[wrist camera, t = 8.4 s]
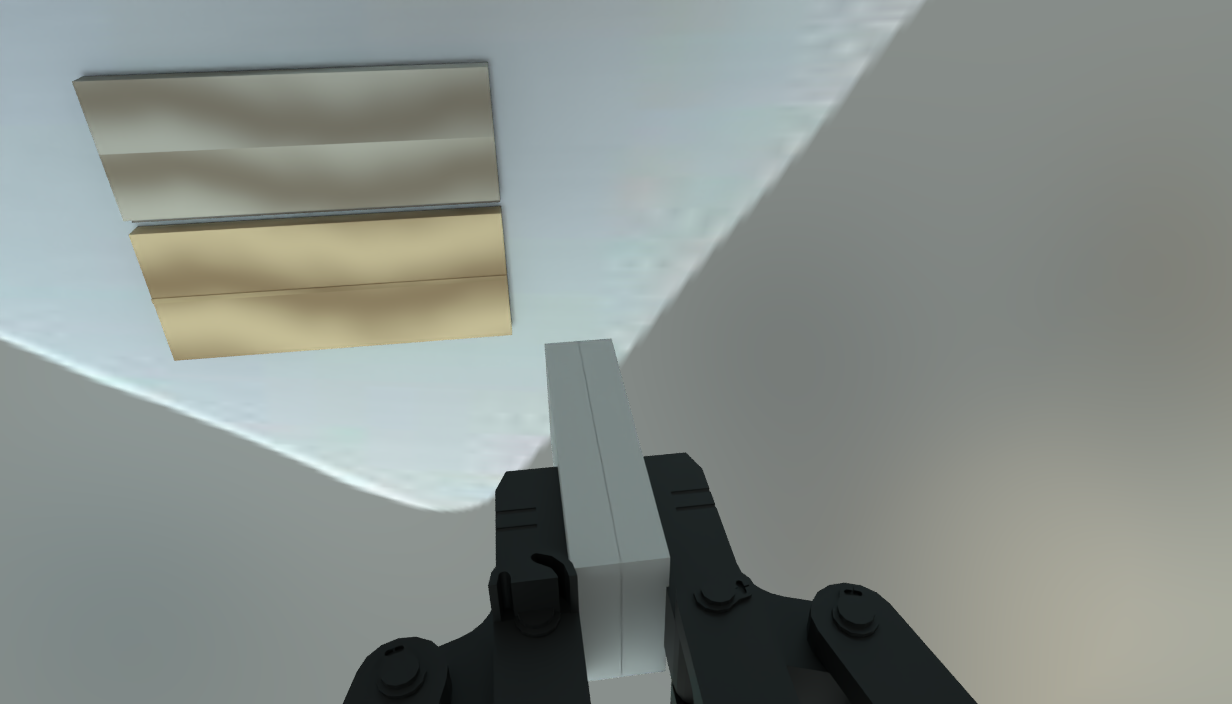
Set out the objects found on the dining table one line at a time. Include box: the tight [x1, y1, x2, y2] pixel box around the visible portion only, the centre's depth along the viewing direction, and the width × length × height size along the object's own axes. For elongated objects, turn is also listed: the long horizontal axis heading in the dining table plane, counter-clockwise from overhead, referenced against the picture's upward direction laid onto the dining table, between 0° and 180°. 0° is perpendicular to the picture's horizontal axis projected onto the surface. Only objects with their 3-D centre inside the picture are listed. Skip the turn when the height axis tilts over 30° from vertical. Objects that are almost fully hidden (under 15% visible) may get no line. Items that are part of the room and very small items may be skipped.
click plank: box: [129, 206, 512, 361], centre depth 45 cm, size 8×20×1 cm, turn 90°
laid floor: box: [72, 62, 500, 223], centre depth 40 cm, size 8×20×1 cm, turn 90°
